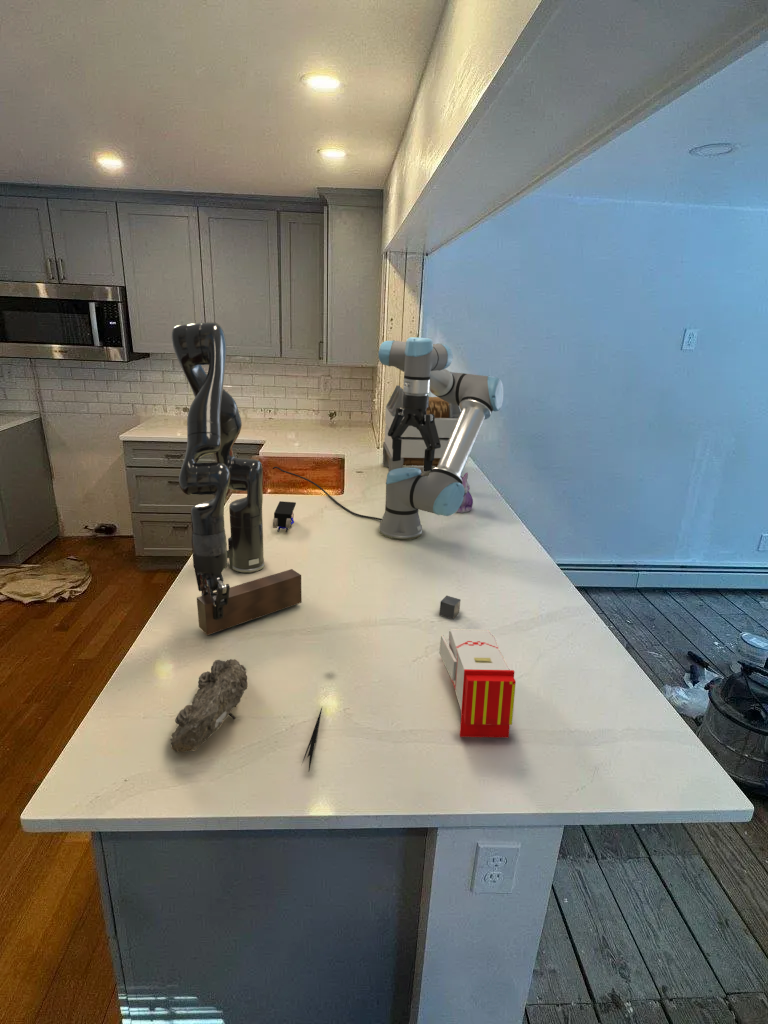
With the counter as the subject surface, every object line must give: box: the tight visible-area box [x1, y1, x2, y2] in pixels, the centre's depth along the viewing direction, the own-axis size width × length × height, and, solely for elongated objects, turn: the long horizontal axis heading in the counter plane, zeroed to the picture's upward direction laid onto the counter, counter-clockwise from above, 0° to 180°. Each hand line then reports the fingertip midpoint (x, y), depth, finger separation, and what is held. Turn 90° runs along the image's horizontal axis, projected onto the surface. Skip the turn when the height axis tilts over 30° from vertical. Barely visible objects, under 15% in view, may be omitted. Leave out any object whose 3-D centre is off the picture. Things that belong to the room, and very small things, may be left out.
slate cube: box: [439, 595, 461, 620], centre depth 148 cm, size 4×4×4 cm
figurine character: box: [272, 500, 297, 533], centre depth 200 cm, size 7×8×15 cm
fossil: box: [170, 658, 249, 753], centre depth 106 cm, size 22×10×15 cm
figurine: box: [455, 472, 474, 514], centre depth 225 cm, size 9×10×15 cm
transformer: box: [381, 384, 461, 472], centre depth 268 cm, size 34×33×41 cm
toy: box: [438, 628, 517, 738], centre depth 117 cm, size 12×13×30 cm
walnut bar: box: [196, 568, 303, 636], centre depth 140 cm, size 26×4×8 cm, turn 131°
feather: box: [301, 673, 332, 771], centre depth 108 cm, size 2×28×2 cm
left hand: (214, 613), depth 134 cm, fingers closed on walnut bar, 4 cm apart
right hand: (411, 465), depth 170 cm, fingers open, 13 cm apart
